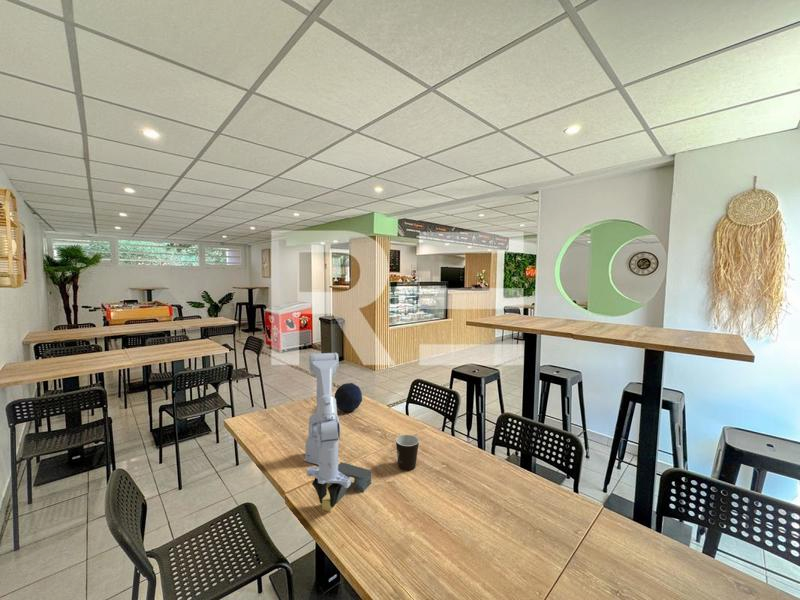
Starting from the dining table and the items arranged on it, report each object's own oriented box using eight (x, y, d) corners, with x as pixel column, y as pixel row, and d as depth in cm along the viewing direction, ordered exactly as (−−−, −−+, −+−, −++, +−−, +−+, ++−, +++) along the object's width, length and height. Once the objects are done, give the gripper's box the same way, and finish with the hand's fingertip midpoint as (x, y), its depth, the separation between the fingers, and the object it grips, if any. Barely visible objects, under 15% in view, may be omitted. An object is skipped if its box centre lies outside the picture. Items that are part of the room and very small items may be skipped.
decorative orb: (351, 391, 183) (340, 374, 174) (371, 397, 174) (360, 380, 166) (336, 413, 174) (323, 396, 166) (357, 420, 165) (344, 403, 157)
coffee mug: (416, 474, 115) (417, 447, 114) (393, 471, 117) (393, 444, 116) (421, 457, 126) (421, 432, 126) (399, 454, 128) (399, 429, 128)
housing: (332, 482, 110) (332, 469, 110) (341, 474, 114) (341, 462, 114) (363, 492, 105) (363, 478, 105) (371, 483, 110) (371, 470, 109)
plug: (343, 486, 108) (343, 478, 107) (351, 489, 106) (351, 480, 106) (321, 508, 97) (321, 499, 97) (330, 512, 96) (330, 502, 96)
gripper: (300, 460, 96) (300, 504, 96) (341, 473, 90) (341, 519, 91) (315, 449, 102) (315, 490, 103) (354, 460, 96) (354, 503, 97)
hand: (328, 503), depth 97 cm, fingers closed on plug, 3 cm apart
